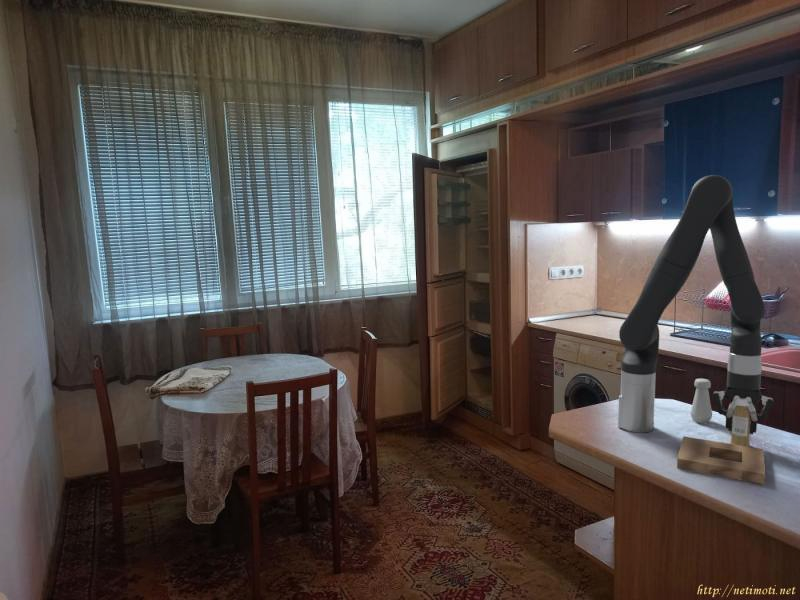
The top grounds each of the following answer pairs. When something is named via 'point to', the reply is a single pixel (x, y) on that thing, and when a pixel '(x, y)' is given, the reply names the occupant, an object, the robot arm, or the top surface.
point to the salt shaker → (701, 402)
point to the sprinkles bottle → (741, 423)
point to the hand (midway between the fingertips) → (740, 431)
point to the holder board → (698, 459)
